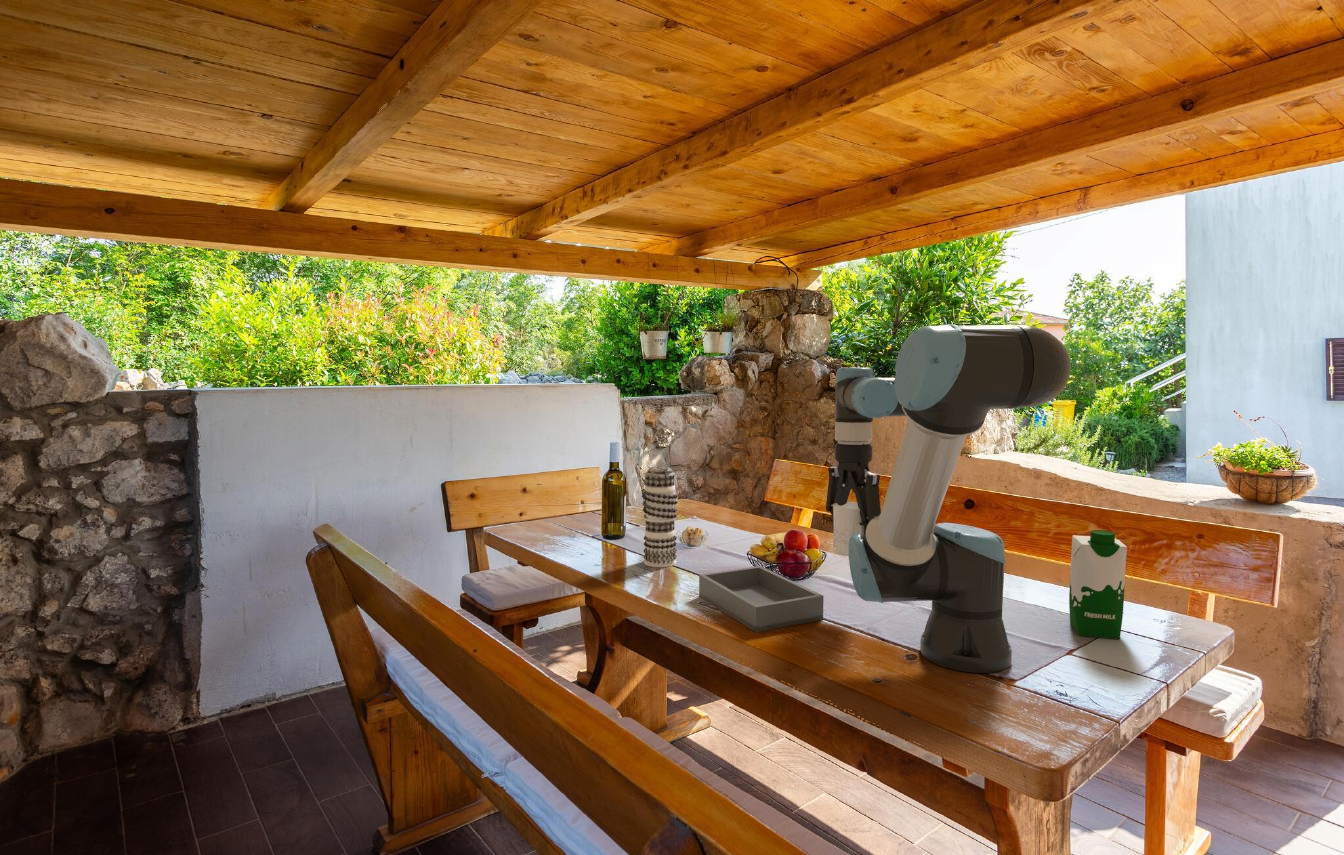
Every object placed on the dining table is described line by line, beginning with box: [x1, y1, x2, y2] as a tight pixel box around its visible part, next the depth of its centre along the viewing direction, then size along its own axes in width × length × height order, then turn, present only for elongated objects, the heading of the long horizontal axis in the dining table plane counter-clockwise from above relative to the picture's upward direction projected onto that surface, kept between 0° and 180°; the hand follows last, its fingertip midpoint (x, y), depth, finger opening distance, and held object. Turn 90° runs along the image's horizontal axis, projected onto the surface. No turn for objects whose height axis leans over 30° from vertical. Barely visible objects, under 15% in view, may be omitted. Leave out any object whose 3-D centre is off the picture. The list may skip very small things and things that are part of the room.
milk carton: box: [1068, 529, 1128, 640], centre depth 142 cm, size 9×9×20 cm
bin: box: [698, 565, 825, 633], centre depth 157 cm, size 24×16×5 cm, turn 25°
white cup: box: [832, 501, 868, 557], centre depth 154 cm, size 8×8×10 cm
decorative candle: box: [641, 466, 678, 568], centre depth 191 cm, size 9×9×25 cm
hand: (852, 551), depth 154 cm, fingers closed on white cup, 7 cm apart
